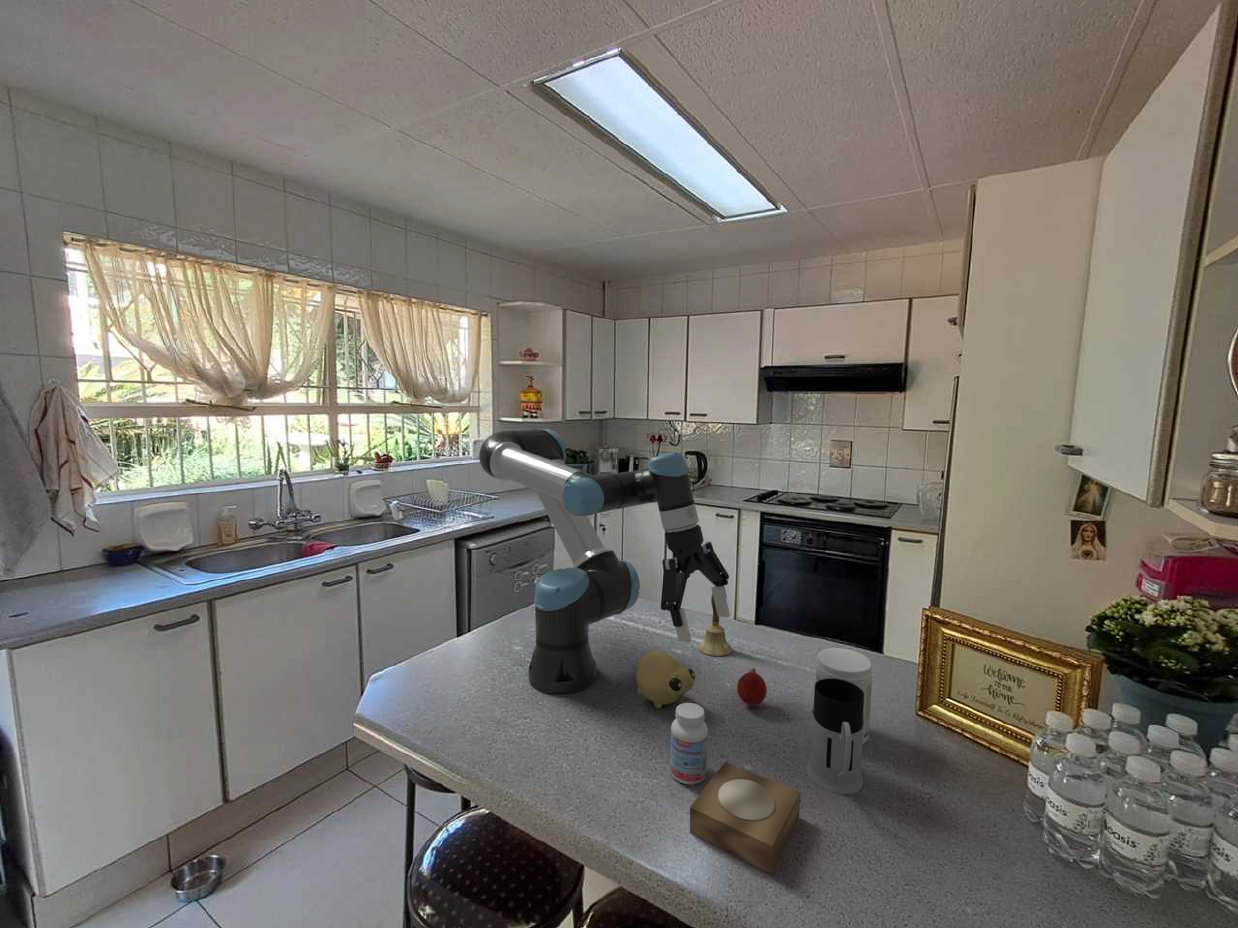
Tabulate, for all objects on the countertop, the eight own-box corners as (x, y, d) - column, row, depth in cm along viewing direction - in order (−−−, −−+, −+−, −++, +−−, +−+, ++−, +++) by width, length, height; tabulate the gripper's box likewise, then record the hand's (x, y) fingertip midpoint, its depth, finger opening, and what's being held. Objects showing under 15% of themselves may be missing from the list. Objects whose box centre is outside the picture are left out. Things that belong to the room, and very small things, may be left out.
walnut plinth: (689, 832, 79) (690, 805, 78) (724, 784, 88) (725, 760, 88) (771, 873, 72) (772, 844, 71) (799, 816, 82) (800, 791, 81)
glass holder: (857, 762, 94) (862, 679, 92) (876, 824, 80) (882, 729, 78) (804, 754, 96) (807, 673, 94) (813, 814, 82) (818, 721, 80)
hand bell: (707, 638, 142) (708, 579, 140) (737, 647, 137) (739, 585, 135) (692, 650, 135) (693, 588, 133) (723, 660, 130) (724, 595, 128)
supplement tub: (839, 713, 108) (843, 642, 106) (880, 740, 100) (885, 664, 98) (802, 726, 104) (805, 653, 102) (842, 755, 96) (846, 676, 94)
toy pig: (673, 725, 104) (673, 672, 103) (626, 701, 113) (626, 651, 111) (702, 704, 112) (703, 654, 110) (657, 683, 120) (657, 636, 118)
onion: (766, 715, 107) (768, 677, 106) (736, 712, 109) (737, 674, 108) (765, 699, 113) (766, 663, 112) (736, 696, 114) (737, 660, 113)
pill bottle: (665, 780, 89) (666, 715, 88) (676, 757, 95) (677, 696, 94) (702, 790, 87) (703, 724, 86) (710, 766, 93) (712, 704, 91)
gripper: (655, 542, 101) (681, 654, 101) (730, 512, 118) (753, 607, 118) (627, 544, 106) (652, 650, 106) (703, 515, 124) (724, 606, 124)
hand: (705, 628), depth 112 cm, fingers open, 13 cm apart
